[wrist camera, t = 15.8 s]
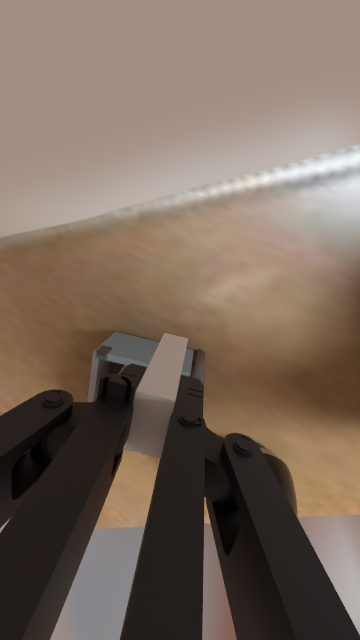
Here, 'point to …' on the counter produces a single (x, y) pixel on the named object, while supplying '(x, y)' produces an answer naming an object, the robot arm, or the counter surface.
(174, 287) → the counter surface
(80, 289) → the counter surface
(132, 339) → the blue-grey flat plate
